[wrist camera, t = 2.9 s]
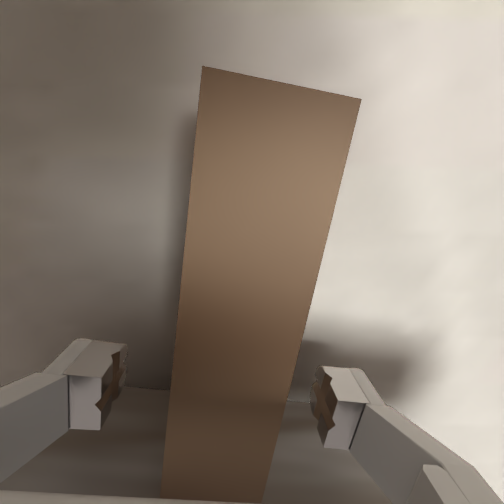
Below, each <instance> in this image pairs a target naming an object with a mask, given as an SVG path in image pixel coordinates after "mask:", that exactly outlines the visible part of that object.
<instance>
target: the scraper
mask: <svg viewBox="0 0 504 504" xmlns="http://www.w3.org/2000/svg"><path fill="white" fill-rule="evenodd" d="M360 103H361V99H358V98H353V97H349V96H344V95H339V94H334V93H329V92H325V91H320V90H315V89H310V88H306V87H301V86H296V85H291V84H286V83H282V82H277V81H272V80H267V79H263V78H258V77H253V76H248V75H244V74H239V73H234V72H229V71H224V70H220V69H215V68H210V67H205V66H202V74H201V84H200V94H199V104H198V115H197V125H196V135H195V145H194V155H193V165H192V175H191V185H190V196H189V206H188V216H187V226H186V236H185V246H184V256H183V266H182V277H181V287H180V297H179V307H178V317H177V327H176V337H175V347H174V358H173V368H172V378H171V388H170V390H159V389H148V388H137V387H125V386H123V388H122V391H121V393H120V395H119V397H118V398H117V399H116V400H114V401H112V405H111V412H110V413H109V415H108V417H107V419H106V421H105V423H104V424H103V426H102V428H101V430H83V429H68V431H67V432H66V433H65V434H63V435H62V436H61V437H60V438H58V439H57V440H56V441H54V442H53V443H52V444H50V445H49V446H48V447H47V448H45V449H44V450H43V451H41V452H40V453H39V454H37V455H36V456H35V457H34V458H32V459H31V460H30V461H28V462H27V463H26V464H25V465H23V466H22V467H21V468H19V469H18V470H17V471H15V472H14V473H13V474H12V475H10V476H9V477H8V478H6V479H5V480H4V481H2V482H1V483H0V490H8V491H27V492H46V493H65V494H83V495H102V496H121V497H140V498H158V499H177V500H195V501H214V502H233V503H251V504H393V503H392V502H391V501H390V499H389V498H388V497H387V496H386V495H385V494H384V492H383V491H382V490H381V489H380V488H379V486H378V485H377V484H376V483H375V482H374V481H373V479H372V478H371V477H370V476H369V475H368V473H367V472H366V471H365V470H364V469H363V468H362V466H361V465H360V464H359V463H358V462H357V460H356V459H355V458H354V457H353V456H352V455H351V453H350V452H349V451H350V450H342V449H333V448H324V447H323V445H322V442H321V439H320V436H319V433H318V430H317V425H318V422H319V421H318V420H317V419H316V418H315V417H314V416H313V414H312V411H311V406H310V403H307V402H295V401H287V398H288V394H289V390H290V386H291V382H292V378H293V374H294V369H295V365H296V361H297V357H298V353H299V349H300V345H301V341H302V337H303V333H304V329H305V325H306V321H307V317H308V313H309V309H310V305H311V301H312V297H313V293H314V289H315V285H316V281H317V277H318V273H319V269H320V265H321V261H322V257H323V252H324V248H325V244H326V240H327V236H328V232H329V228H330V224H331V220H332V216H333V212H334V208H335V204H336V200H337V196H338V192H339V188H340V184H341V180H342V176H343V172H344V168H345V164H346V160H347V156H348V152H349V148H350V144H351V140H352V135H353V131H354V127H355V123H356V119H357V115H358V111H359V107H360Z"/></svg>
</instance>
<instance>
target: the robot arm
mask: <svg viewBox="0 0 504 504" xmlns="http://www.w3.org/2000/svg"><path fill="white" fill-rule="evenodd" d="M127 355H128V346H127V345H126V344H123V343H115V342H108V341H100V340H92V339H83V338H78V339H75V340H74V341H73V342H72V343H71V344H70V345H69V346H68V347H67V348H66V349H65V350H64V351H63V352H62V353H61V354H60V355H59V356H58V357H57V358H56V359H55V360H54V361H53V362H52V363H51V364H50V365H49V366H48V367H47V368H46V369H45V370H44V371H43V372H42V373H38V372H36V373H33V374H31V375H29V376H26V377H24V378H22V379H19V380H17V381H15V382H12V383H10V384H8V385H5V386H3V387H1V388H0V483H1V482H2V481H4V480H5V479H6V478H8V477H9V476H10V475H12V474H13V473H14V472H15V471H17V470H18V469H19V468H21V467H22V466H23V465H25V464H26V463H27V462H28V461H30V460H31V459H32V458H34V457H35V456H36V455H37V454H39V453H40V452H41V451H43V450H44V449H45V448H47V447H48V446H49V445H50V444H52V443H53V442H54V441H56V440H57V439H58V438H60V437H61V436H62V435H63V434H65V433H66V432H67V431H68V429H83V430H101V428H102V426H103V424H104V423H105V421H106V419H107V417H108V415H109V413H110V412H111V405H112V401H114V400H116V399H117V398H118V397H119V395H120V393H121V391H122V388H123V385H124V383H125V379H126V374H127V366H126V364H125V363H124V360H125V359H126V357H127ZM315 376H316V379H317V381H316V382H315V383H314V384H313V385H312V387H311V392H310V406H311V411H312V414H313V416H314V417H315V418H316V419H317V420H318V421H319V422H318V425H317V430H318V433H319V436H320V439H321V442H322V445H323V447H324V448H333V449H342V450H350V451H349V452H350V453H351V455H352V456H353V457H354V458H355V459H356V460H357V462H358V463H359V464H360V465H361V466H362V468H363V469H364V470H365V471H366V472H367V473H368V475H369V476H370V477H371V478H372V479H373V481H374V482H375V483H376V484H377V485H378V486H379V488H380V489H381V490H382V491H383V492H384V494H385V495H386V496H387V497H388V498H389V499H390V501H391V502H392V503H393V504H504V503H503V502H502V501H501V499H500V498H499V497H498V496H497V495H496V493H495V492H494V491H493V490H492V488H491V487H490V486H489V485H488V484H487V482H486V481H485V480H484V479H483V477H482V476H481V475H480V474H479V473H478V471H477V470H476V469H475V468H474V467H473V466H472V465H471V464H469V463H468V462H466V461H465V460H464V459H462V458H461V457H460V456H458V455H457V454H455V453H454V452H453V451H451V450H450V449H449V448H447V447H446V446H444V445H443V444H442V443H440V442H439V441H438V440H436V439H435V438H434V437H432V436H431V435H429V434H428V433H427V432H425V431H424V430H423V429H421V428H420V427H418V426H417V425H416V424H414V423H413V422H412V421H410V420H409V419H407V418H406V417H405V416H403V415H402V414H401V413H399V412H398V411H397V410H395V409H394V408H392V407H391V406H386V405H385V403H384V402H383V400H382V399H381V397H380V396H379V394H378V393H377V391H376V389H375V388H374V386H373V385H372V383H371V382H370V380H369V379H368V377H367V376H366V374H365V373H364V371H363V370H361V369H359V368H341V367H332V366H322V365H319V366H318V368H317V369H316V373H315ZM0 504H251V503H233V502H214V501H195V500H177V499H158V498H140V497H121V496H102V495H83V494H65V493H46V492H27V491H8V490H0Z"/></svg>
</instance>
